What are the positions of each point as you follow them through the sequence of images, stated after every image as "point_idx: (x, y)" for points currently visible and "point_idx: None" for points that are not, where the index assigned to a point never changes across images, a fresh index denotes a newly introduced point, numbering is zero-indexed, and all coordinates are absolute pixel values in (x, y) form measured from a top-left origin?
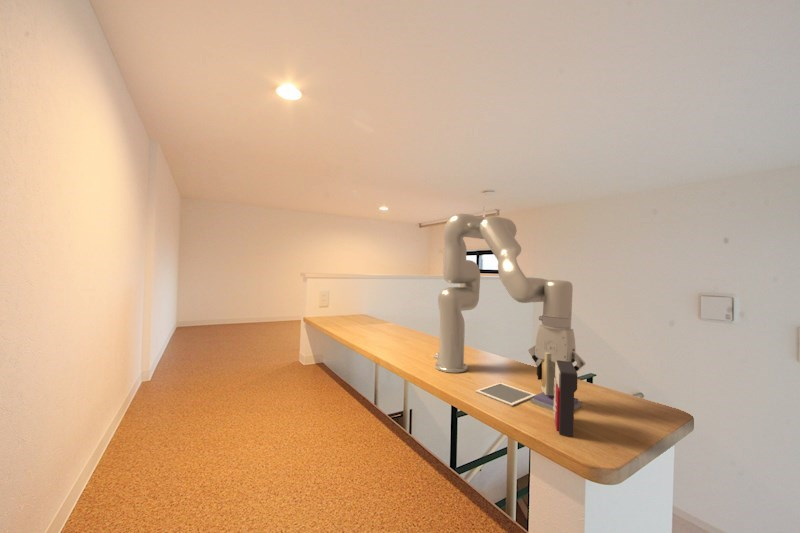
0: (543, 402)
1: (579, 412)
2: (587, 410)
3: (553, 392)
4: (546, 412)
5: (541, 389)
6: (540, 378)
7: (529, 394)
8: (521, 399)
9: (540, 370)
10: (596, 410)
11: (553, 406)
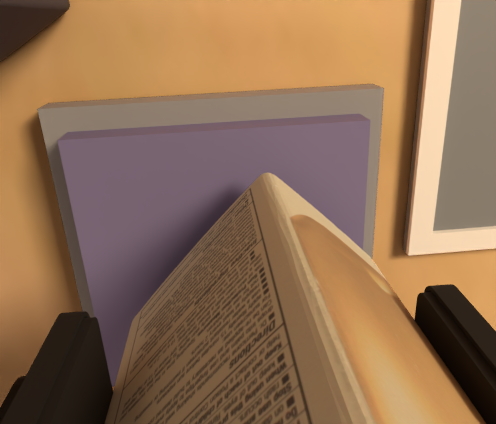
0: (263, 118)
1: (36, 256)
2: (35, 335)
3: (213, 235)
4: (166, 5)
5: (365, 252)
6: (423, 307)
7: (452, 219)
8: (449, 34)
9: (486, 384)
10: (8, 383)
11: (160, 117)
